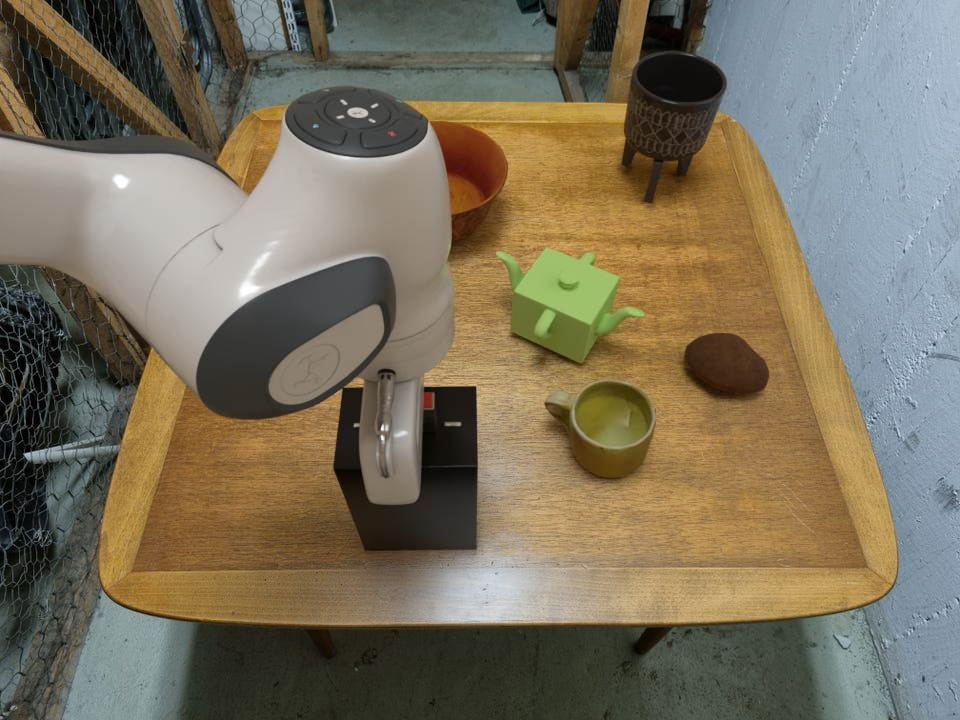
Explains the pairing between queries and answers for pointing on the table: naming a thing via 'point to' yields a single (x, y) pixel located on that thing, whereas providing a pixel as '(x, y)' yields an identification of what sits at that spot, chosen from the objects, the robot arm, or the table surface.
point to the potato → (727, 363)
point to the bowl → (470, 174)
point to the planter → (671, 110)
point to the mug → (606, 425)
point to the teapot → (564, 302)
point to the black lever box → (444, 479)
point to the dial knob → (429, 413)
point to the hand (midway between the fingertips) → (406, 419)
